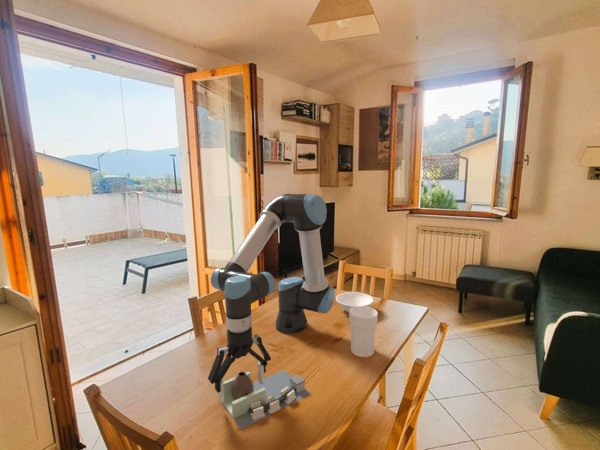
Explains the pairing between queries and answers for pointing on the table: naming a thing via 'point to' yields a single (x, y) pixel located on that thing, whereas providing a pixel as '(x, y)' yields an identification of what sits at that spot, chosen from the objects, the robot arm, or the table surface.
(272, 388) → the board
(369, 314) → the cup
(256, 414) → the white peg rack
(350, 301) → the bowl
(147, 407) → the table surface
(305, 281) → the robot arm
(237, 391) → the vase
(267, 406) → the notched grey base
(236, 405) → the holder
